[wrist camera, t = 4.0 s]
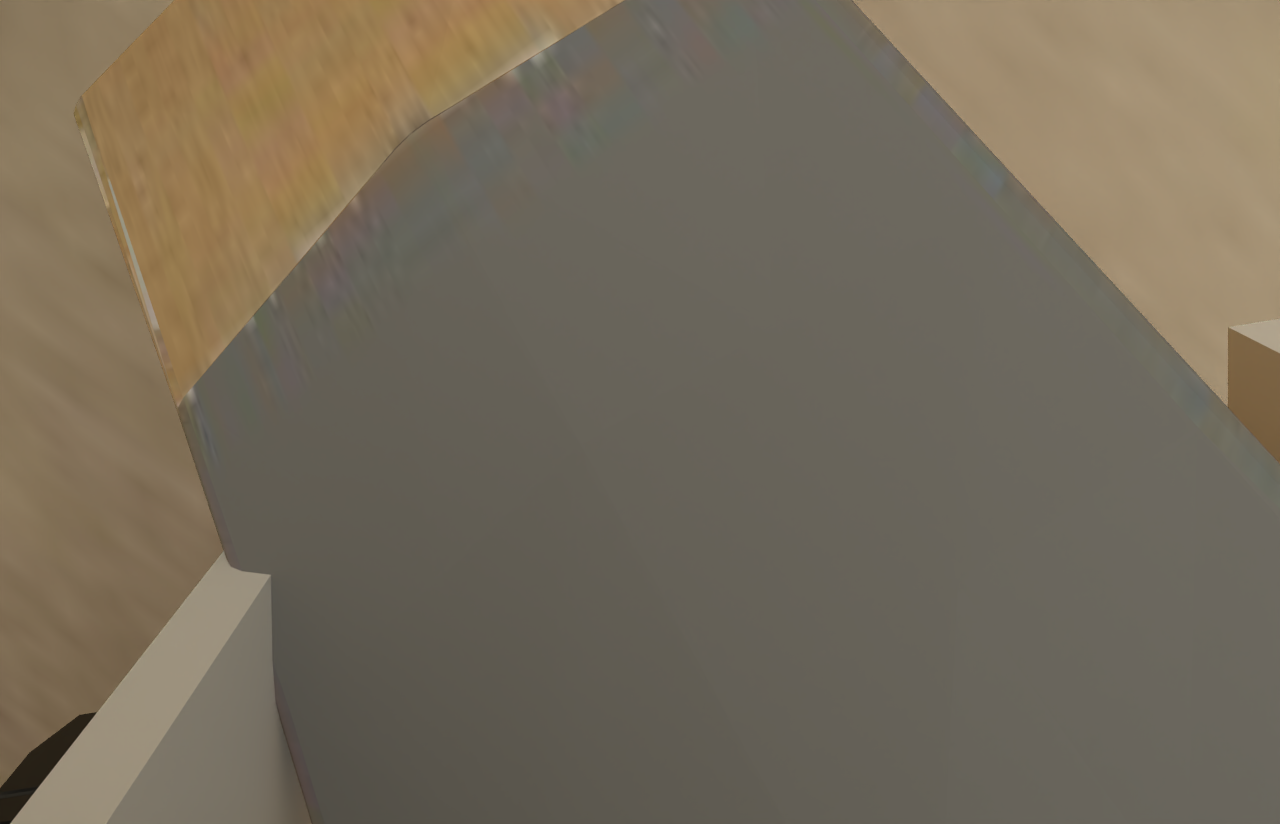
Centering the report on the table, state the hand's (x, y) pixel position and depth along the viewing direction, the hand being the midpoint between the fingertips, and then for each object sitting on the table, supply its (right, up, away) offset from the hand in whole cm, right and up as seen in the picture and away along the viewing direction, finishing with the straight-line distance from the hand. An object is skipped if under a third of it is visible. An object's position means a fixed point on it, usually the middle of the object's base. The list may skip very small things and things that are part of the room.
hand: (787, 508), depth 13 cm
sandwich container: (-1, +2, +3) cm, 4 cm away
